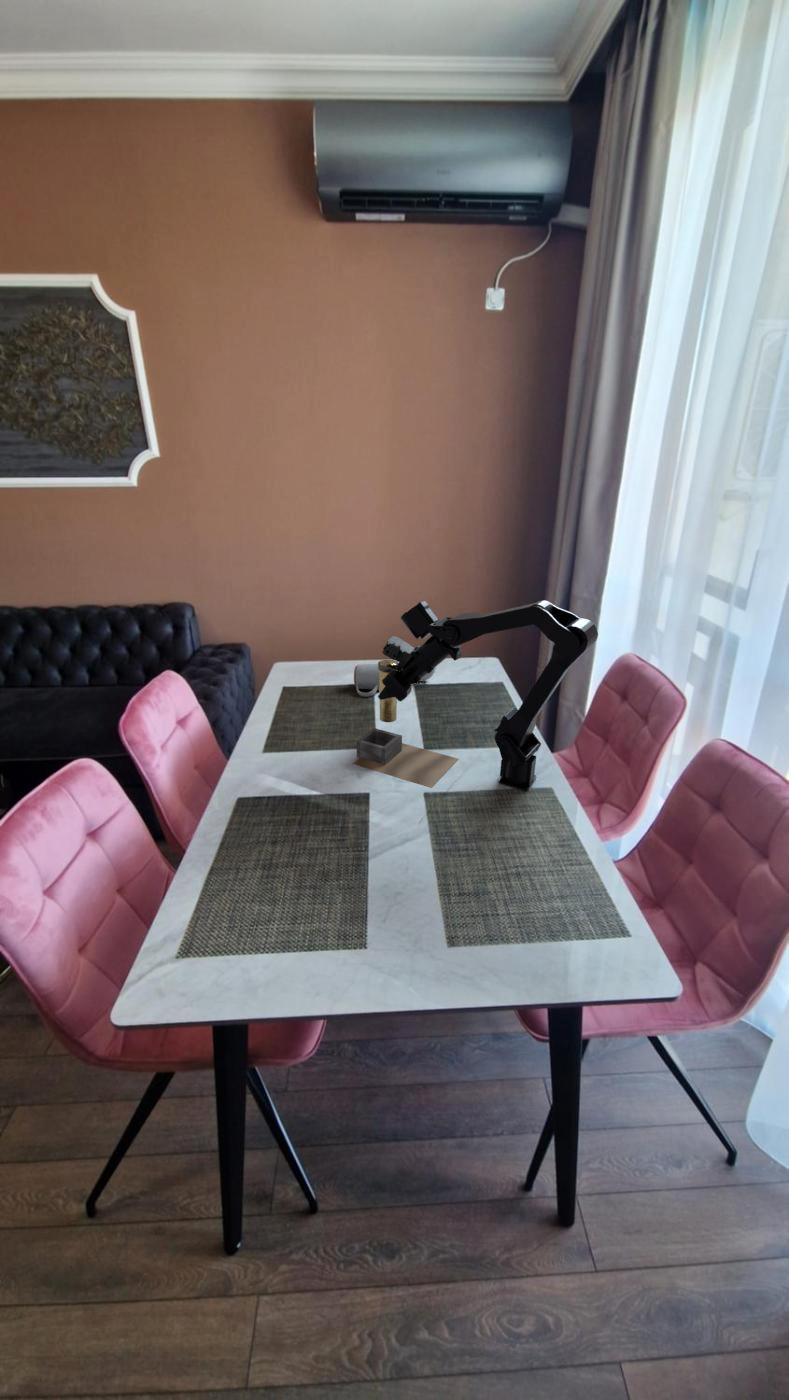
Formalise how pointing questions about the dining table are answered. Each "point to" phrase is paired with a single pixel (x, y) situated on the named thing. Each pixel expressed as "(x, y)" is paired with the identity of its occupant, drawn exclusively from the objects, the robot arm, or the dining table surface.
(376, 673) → the ceramic mug
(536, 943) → the dining table surface
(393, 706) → the brass peg
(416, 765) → the board with square socket
